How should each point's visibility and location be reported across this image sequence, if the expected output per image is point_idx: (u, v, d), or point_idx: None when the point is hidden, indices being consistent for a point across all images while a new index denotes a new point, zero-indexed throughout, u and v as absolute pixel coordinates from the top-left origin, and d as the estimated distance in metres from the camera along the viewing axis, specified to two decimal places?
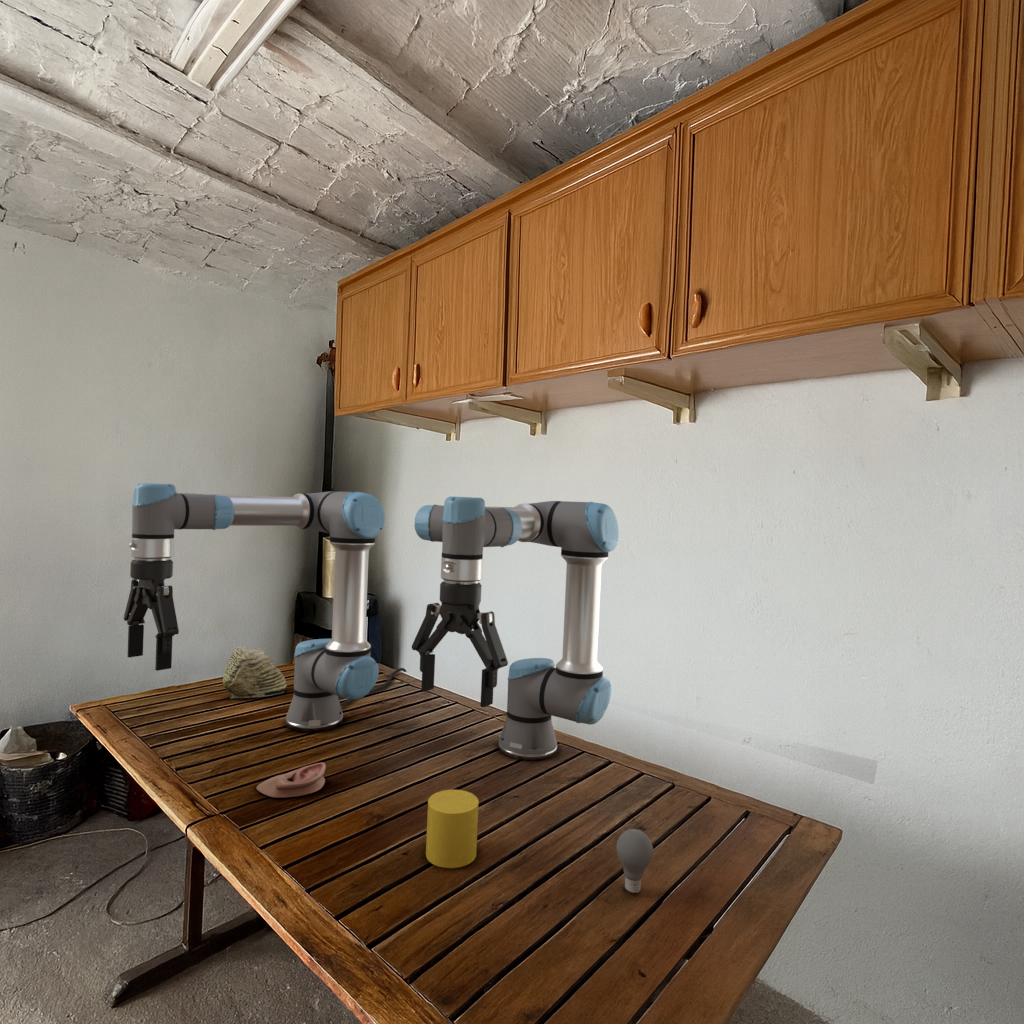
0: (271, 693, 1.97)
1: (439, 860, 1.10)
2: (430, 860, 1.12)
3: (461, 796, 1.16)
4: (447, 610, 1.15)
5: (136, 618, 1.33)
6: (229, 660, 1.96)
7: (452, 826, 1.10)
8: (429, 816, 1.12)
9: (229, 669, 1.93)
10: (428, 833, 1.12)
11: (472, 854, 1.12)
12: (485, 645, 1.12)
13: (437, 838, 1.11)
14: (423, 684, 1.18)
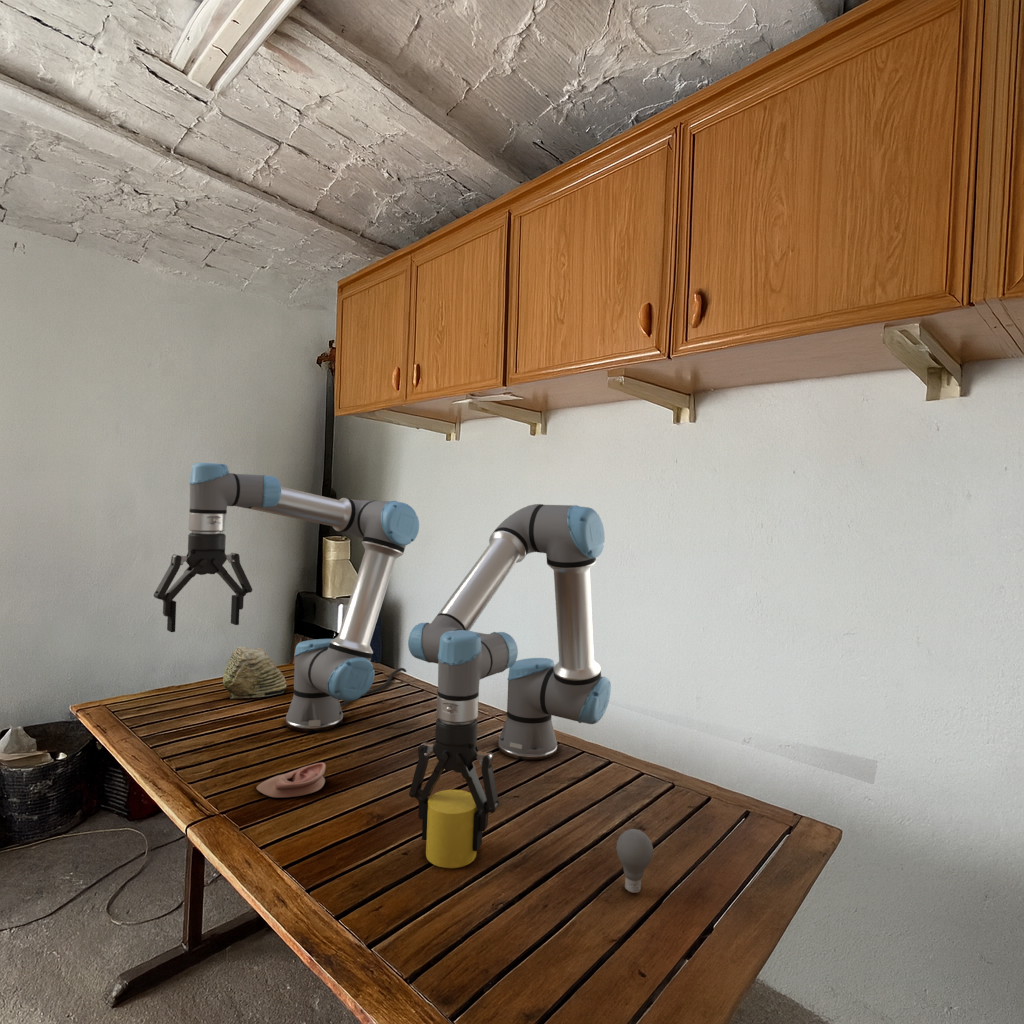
0: (271, 693, 1.97)
1: (439, 860, 1.10)
2: (430, 860, 1.12)
3: (461, 796, 1.16)
4: (443, 748, 1.14)
5: None
6: (229, 660, 1.96)
7: (452, 826, 1.10)
8: (429, 816, 1.12)
9: (229, 669, 1.93)
10: (428, 833, 1.12)
11: (472, 854, 1.12)
12: (479, 786, 1.13)
13: (437, 838, 1.11)
14: (424, 832, 1.15)
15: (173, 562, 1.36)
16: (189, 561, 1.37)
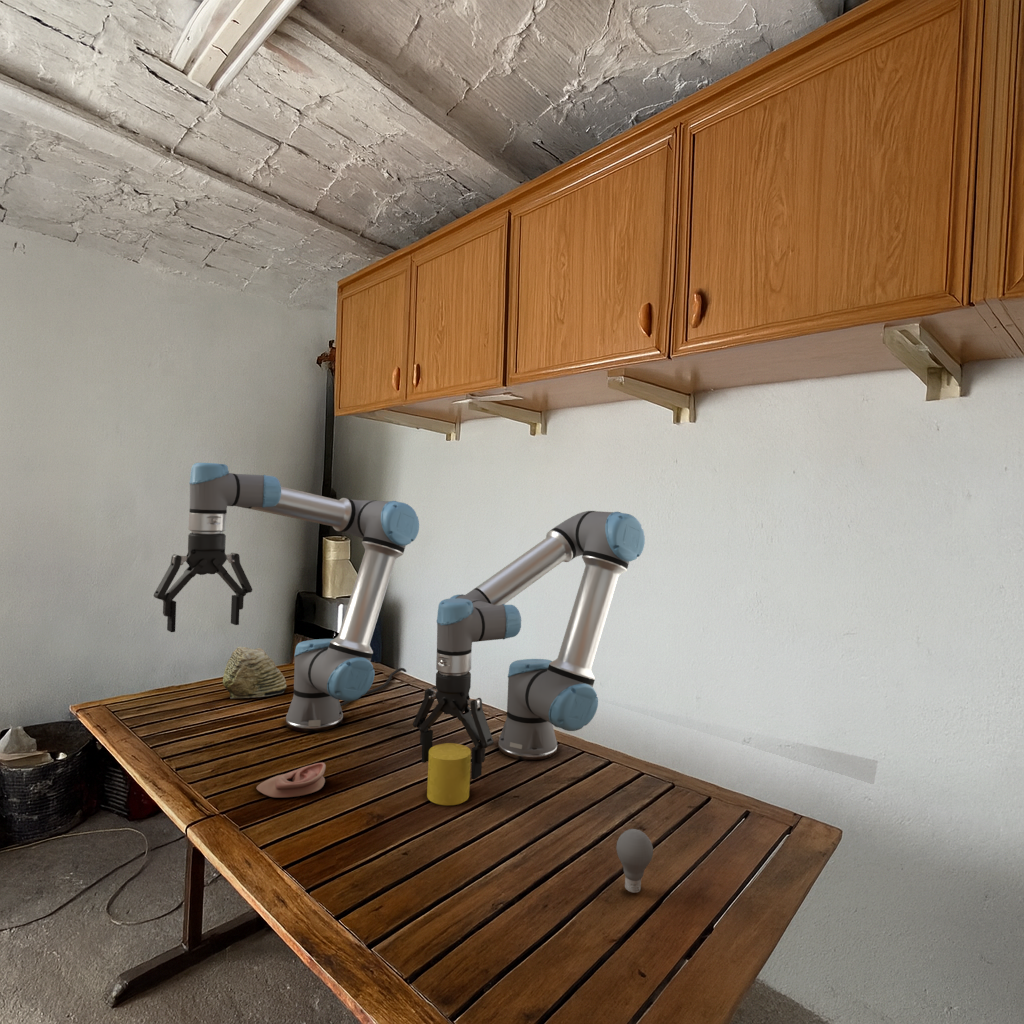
0: (271, 693, 1.97)
1: (433, 797, 1.33)
2: (428, 797, 1.35)
3: (458, 748, 1.38)
4: (442, 695, 1.37)
5: None
6: (229, 660, 1.96)
7: (443, 770, 1.32)
8: (428, 760, 1.36)
9: (229, 669, 1.93)
10: None
11: (461, 796, 1.34)
12: (474, 726, 1.34)
13: (432, 778, 1.34)
14: (423, 756, 1.40)
15: (173, 562, 1.36)
16: (189, 561, 1.37)
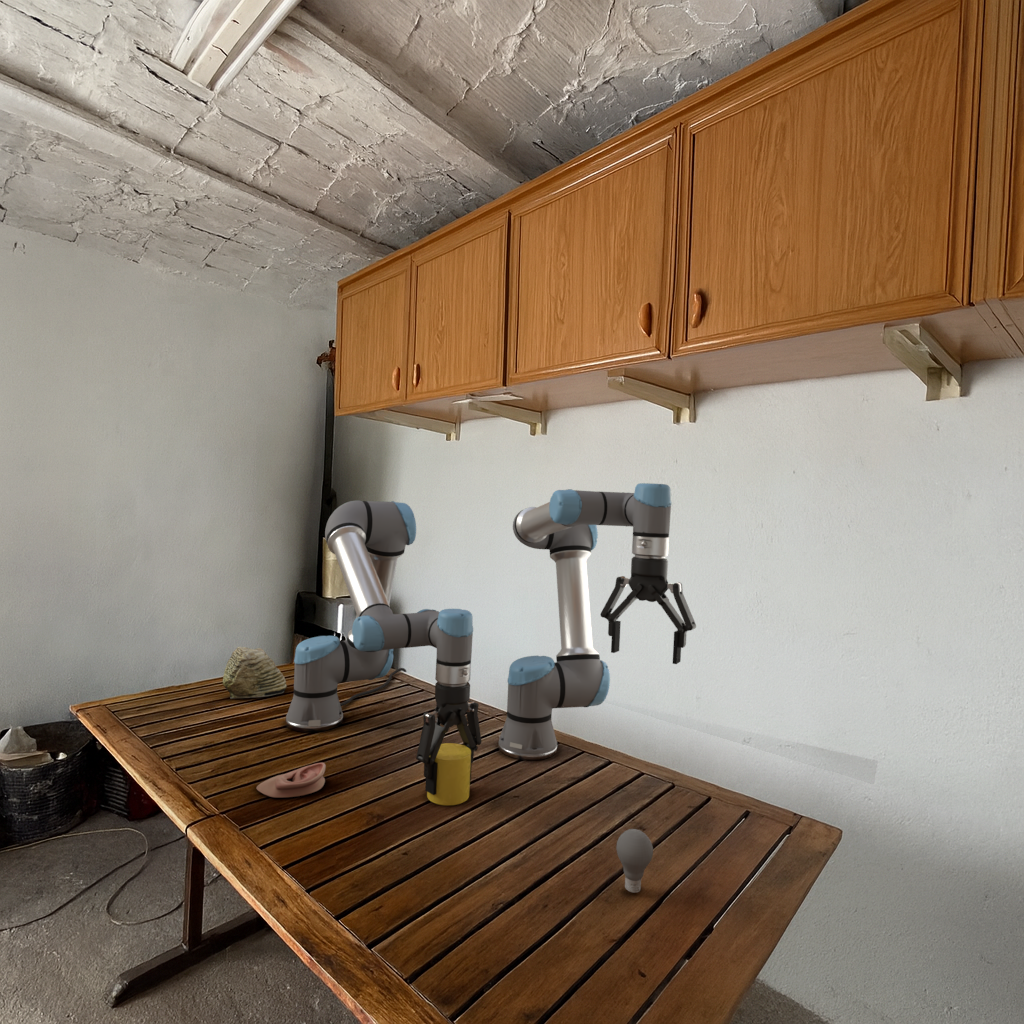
0: (271, 693, 1.97)
1: (433, 797, 1.33)
2: (428, 797, 1.35)
3: (458, 748, 1.38)
4: (637, 582, 1.34)
5: None
6: (229, 660, 1.96)
7: (443, 770, 1.32)
8: None
9: (229, 669, 1.93)
10: None
11: (461, 796, 1.34)
12: (674, 611, 1.31)
13: None
14: (613, 646, 1.36)
15: (428, 722, 1.32)
16: (441, 716, 1.33)
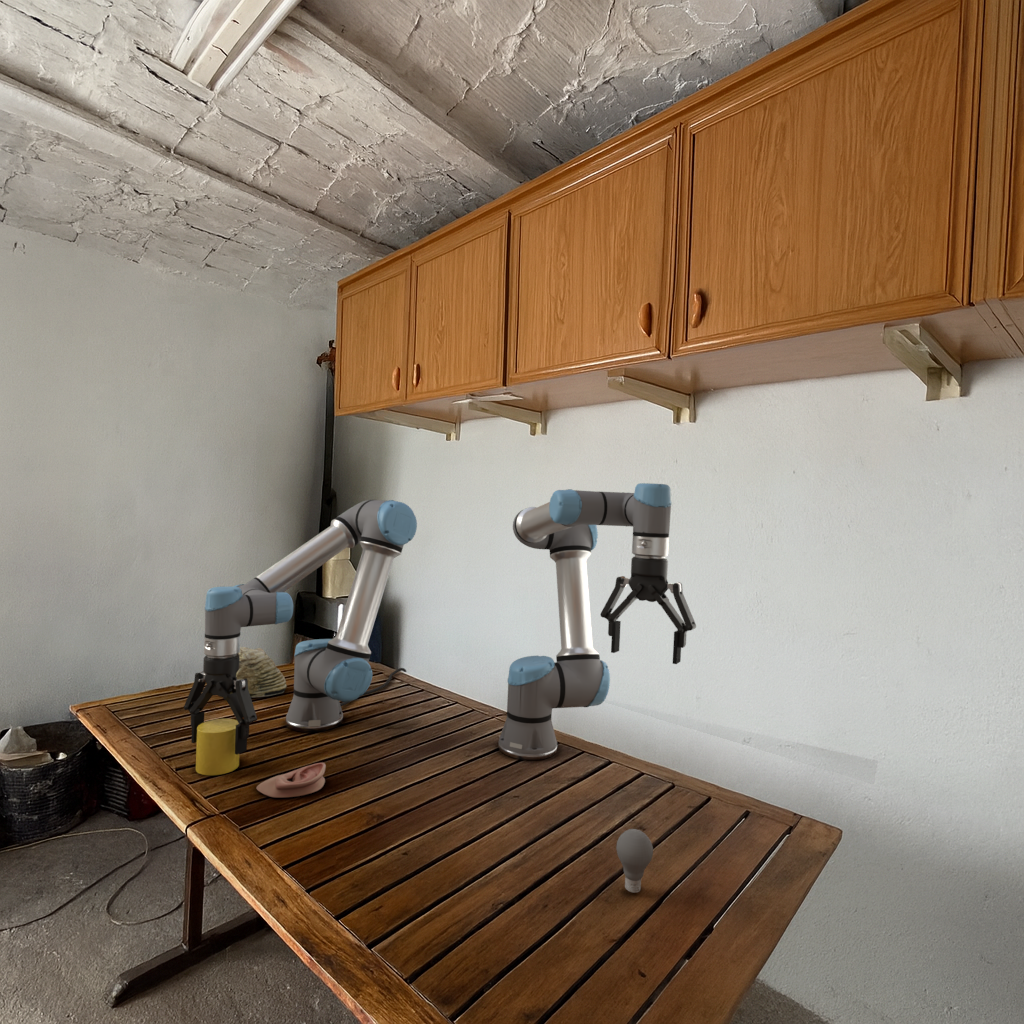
0: (271, 693, 1.97)
1: None
2: None
3: (226, 727, 1.45)
4: (637, 582, 1.34)
5: (199, 707, 1.48)
6: None
7: None
8: None
9: None
10: None
11: (200, 768, 1.42)
12: (674, 611, 1.31)
13: None
14: (613, 646, 1.36)
15: None
16: (205, 680, 1.46)
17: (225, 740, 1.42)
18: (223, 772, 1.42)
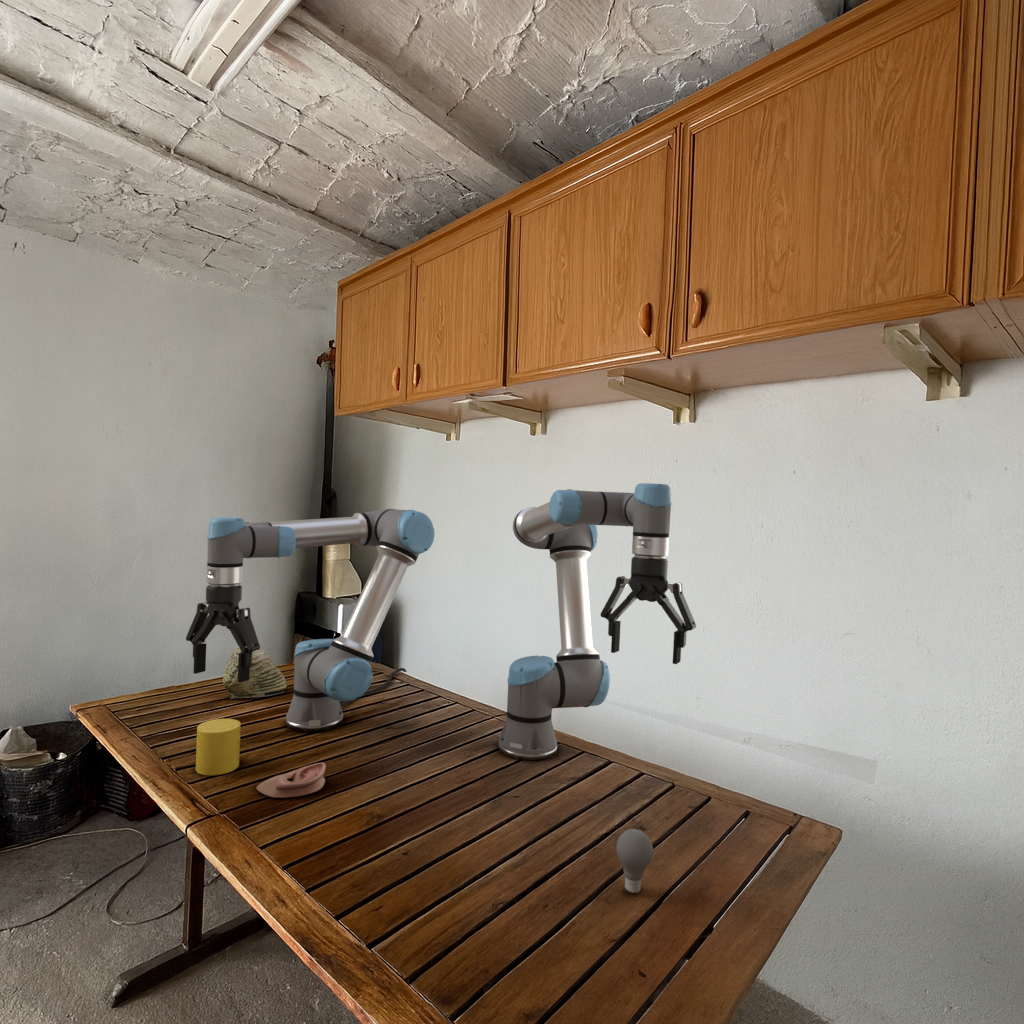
0: (271, 693, 1.97)
1: None
2: None
3: (226, 727, 1.45)
4: (637, 582, 1.34)
5: (201, 638, 1.48)
6: (229, 660, 1.96)
7: None
8: None
9: (229, 669, 1.93)
10: None
11: (200, 768, 1.42)
12: (674, 611, 1.31)
13: None
14: (613, 646, 1.36)
15: None
16: (207, 610, 1.46)
17: (225, 740, 1.42)
18: (223, 772, 1.42)
